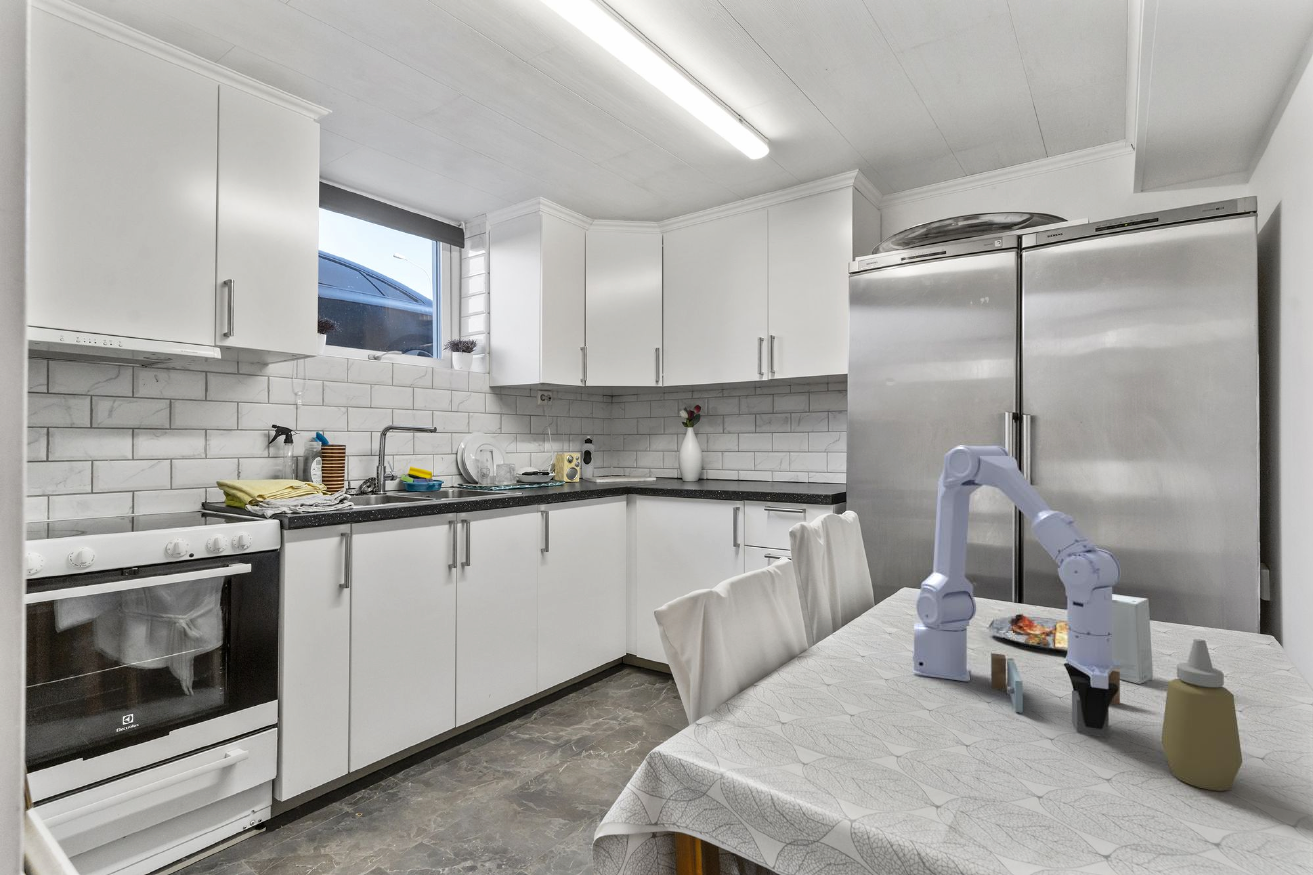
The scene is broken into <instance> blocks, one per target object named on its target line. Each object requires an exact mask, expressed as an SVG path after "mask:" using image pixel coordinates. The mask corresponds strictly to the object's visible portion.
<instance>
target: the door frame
mask: <svg viewBox="0 0 1313 875" xmlns="http://www.w3.org/2000/svg"><path fill="white" fill-rule="evenodd" d="M1120 681H1121V679H1120V671H1119V670H1118V669H1113V671H1112V672H1111V673H1110V675H1109V676H1108V683H1113V684H1117V686H1118V692H1117V693H1116V695H1115V696H1114V697H1113V699H1112V701H1111V702H1110V704H1111V705H1118V706H1120V705H1121V700H1120V699H1121V686H1120V685H1121V682H1120ZM990 685H991V688H992V689H995V690H1001V691H1007V657H1006V655H1005V654H1003V653H994V652H993V653H992V652H991V653H990Z"/></svg>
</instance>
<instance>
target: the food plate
mask: <svg viewBox="0 0 1313 875" xmlns="http://www.w3.org/2000/svg"><path fill="white" fill-rule="evenodd" d="M990 622H991V623H990V624H989V626H988V627H987V629H986V630H987V631H988V632H989V633H990V634H992V635H993V636H995V637H999V638H1004V639H1006V640H1008V641H1013V642H1015V643H1017V644H1021V645H1024V646H1028V647H1032V648H1037V649H1043V650H1049V651H1055V652H1057V651H1058V652H1063V653H1068V641H1067V627H1068V621H1066V620H1060V619H1056V618H1050V617H1041V616H1025V615H1024V614H1023V613H1018V614H1016V615H1014V616H1013V615H1012V616H1007V617H1006V616H1005V617H999V618H994V619H993V620H992V621H990ZM1000 631H1005V632H1003V633H1002V632H1000ZM1008 631H1013V633H1015V634H1014V635H1017V636H1016V637H1015V638H1016V639H1015V638H1013V637H1008V635H1007V634H1005V633H1008ZM1014 635H1013V636H1014ZM1018 637H1019V638H1018ZM1019 639H1020V640H1019ZM1049 645H1052V646H1049Z"/></svg>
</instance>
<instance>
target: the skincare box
mask: <svg viewBox="0 0 1313 875" xmlns="http://www.w3.org/2000/svg"><path fill="white" fill-rule="evenodd" d="M1149 604H1150V601H1149V598H1146V597H1136V596H1128V595H1122V594H1121V595H1120V594H1115V593H1114V594H1113V593H1112V659H1113V660H1114V661H1119V662H1121V664H1122V669H1118V670H1119V671H1120V680H1122V681H1126V682H1130V683H1134V684H1140V685H1142V684H1143V683H1145V682H1148V681H1151V680H1153V676H1154V669H1153V652H1152V636H1151V635H1152V634H1151V621H1150V620H1151V618H1150V605H1149Z"/></svg>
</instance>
